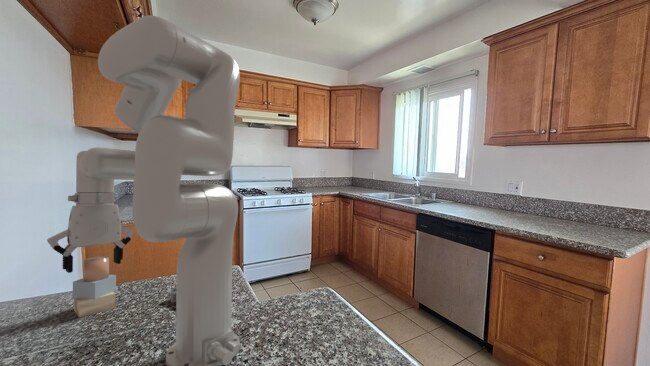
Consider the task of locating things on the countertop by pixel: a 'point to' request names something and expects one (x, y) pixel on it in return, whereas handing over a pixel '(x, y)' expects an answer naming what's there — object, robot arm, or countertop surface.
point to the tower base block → (94, 305)
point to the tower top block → (94, 288)
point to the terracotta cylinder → (96, 268)
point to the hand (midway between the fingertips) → (94, 267)
